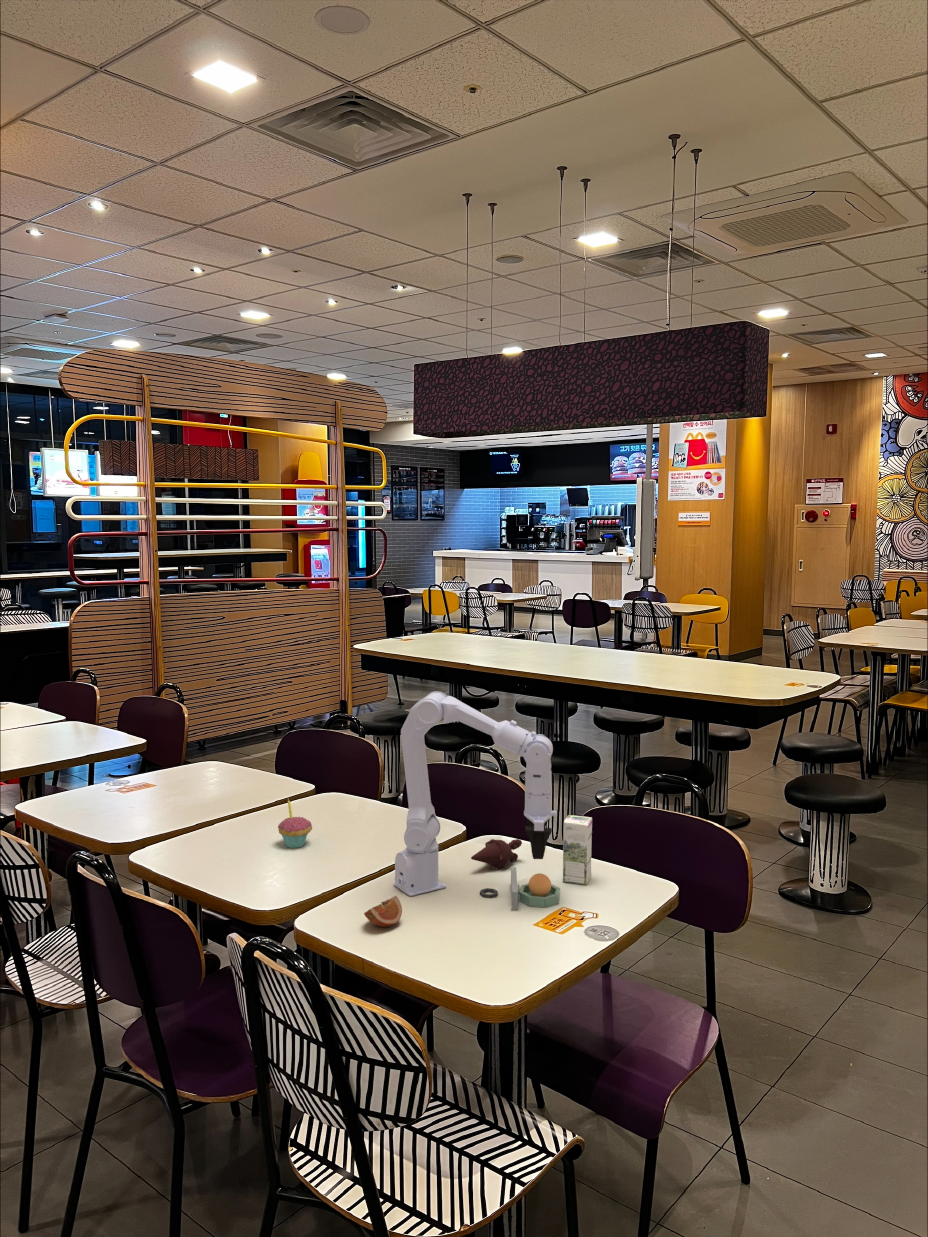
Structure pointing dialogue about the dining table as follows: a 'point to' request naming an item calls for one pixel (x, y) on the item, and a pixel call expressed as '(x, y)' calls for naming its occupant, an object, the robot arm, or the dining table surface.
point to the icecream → (498, 853)
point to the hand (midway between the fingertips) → (537, 852)
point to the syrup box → (577, 849)
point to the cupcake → (294, 830)
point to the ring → (483, 891)
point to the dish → (537, 901)
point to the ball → (539, 885)
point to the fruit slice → (385, 913)
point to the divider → (514, 888)
